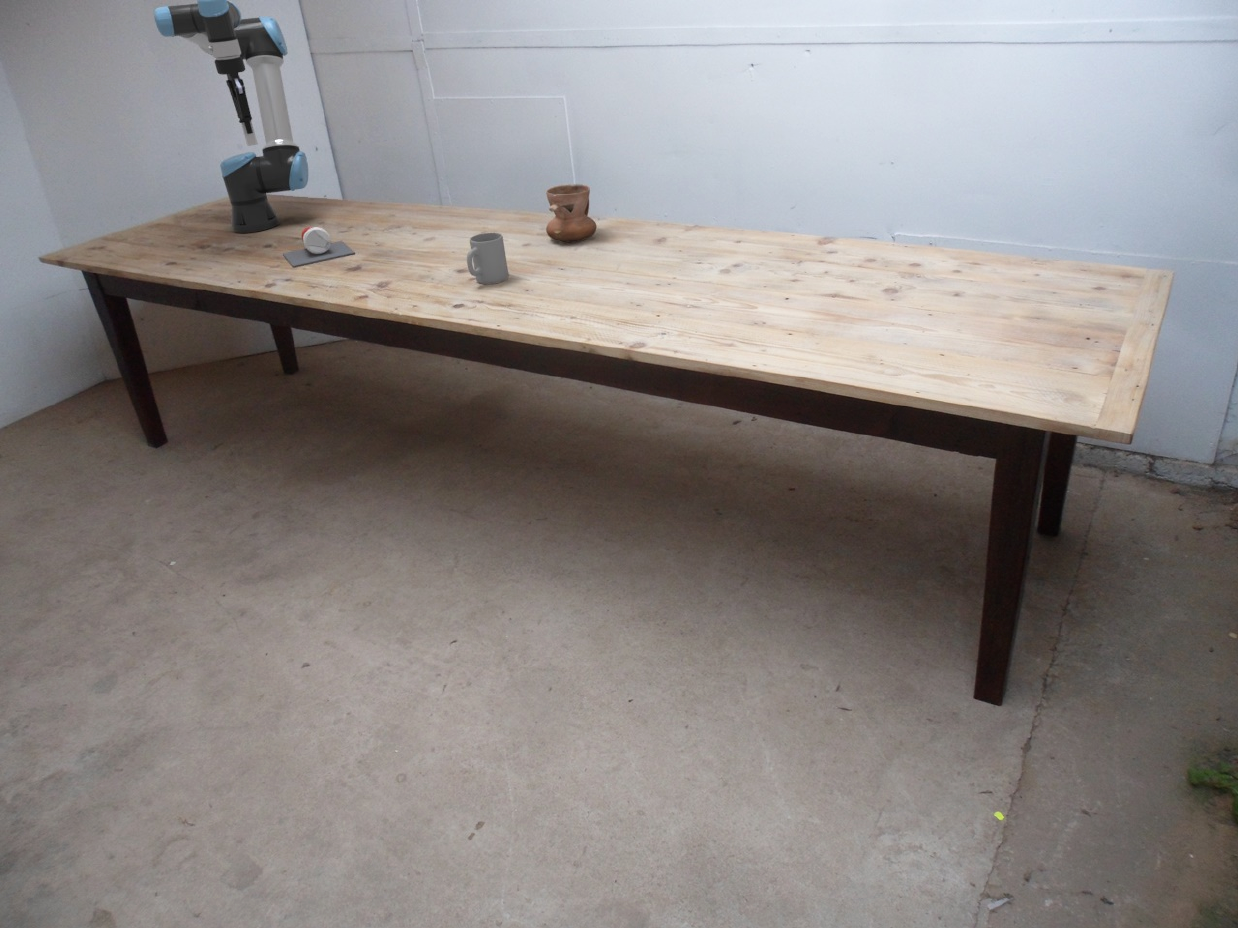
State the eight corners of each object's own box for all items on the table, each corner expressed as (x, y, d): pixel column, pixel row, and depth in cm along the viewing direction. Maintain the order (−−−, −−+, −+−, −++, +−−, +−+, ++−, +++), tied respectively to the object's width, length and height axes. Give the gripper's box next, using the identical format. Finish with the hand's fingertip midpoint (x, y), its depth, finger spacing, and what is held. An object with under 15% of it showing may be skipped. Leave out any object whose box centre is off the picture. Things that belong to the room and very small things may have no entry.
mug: (490, 272, 242) (484, 231, 236) (515, 275, 237) (509, 234, 232) (460, 286, 234) (452, 244, 228) (485, 290, 229) (478, 247, 224)
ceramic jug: (575, 249, 253) (571, 197, 246) (534, 244, 260) (529, 194, 253) (611, 232, 266) (607, 183, 259) (571, 228, 273) (566, 179, 266)
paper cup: (327, 230, 279) (335, 234, 267) (318, 253, 280) (325, 258, 268) (302, 219, 275) (309, 223, 263) (293, 242, 276) (299, 247, 264)
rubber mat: (283, 255, 274) (282, 253, 273) (342, 242, 280) (342, 240, 280) (293, 267, 261) (293, 266, 261) (355, 254, 268) (354, 252, 268)
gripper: (209, 57, 257) (235, 144, 269) (217, 61, 247) (243, 150, 259) (237, 53, 260) (260, 139, 272) (246, 57, 250) (270, 145, 262)
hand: (252, 144), depth 266 cm, fingers closed
